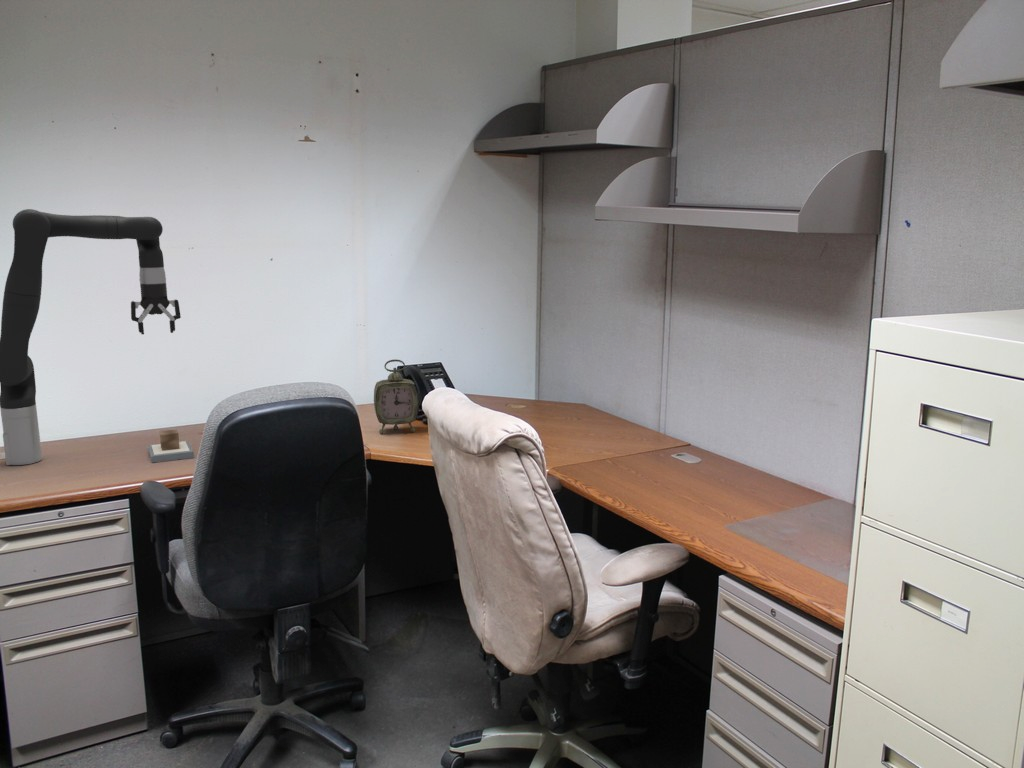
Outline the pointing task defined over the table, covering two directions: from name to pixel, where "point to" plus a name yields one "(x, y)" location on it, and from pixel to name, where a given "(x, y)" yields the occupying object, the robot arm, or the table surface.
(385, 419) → the tabletop clock
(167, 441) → the cube
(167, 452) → the board
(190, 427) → the table surface
